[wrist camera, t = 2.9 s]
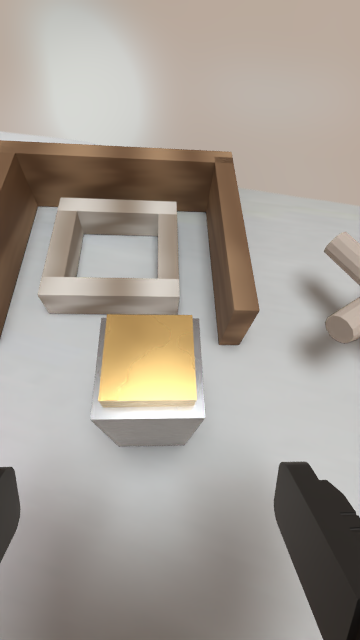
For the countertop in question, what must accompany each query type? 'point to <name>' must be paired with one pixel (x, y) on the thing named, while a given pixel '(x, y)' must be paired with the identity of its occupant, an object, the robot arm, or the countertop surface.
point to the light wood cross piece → (356, 262)
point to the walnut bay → (124, 226)
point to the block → (148, 379)
